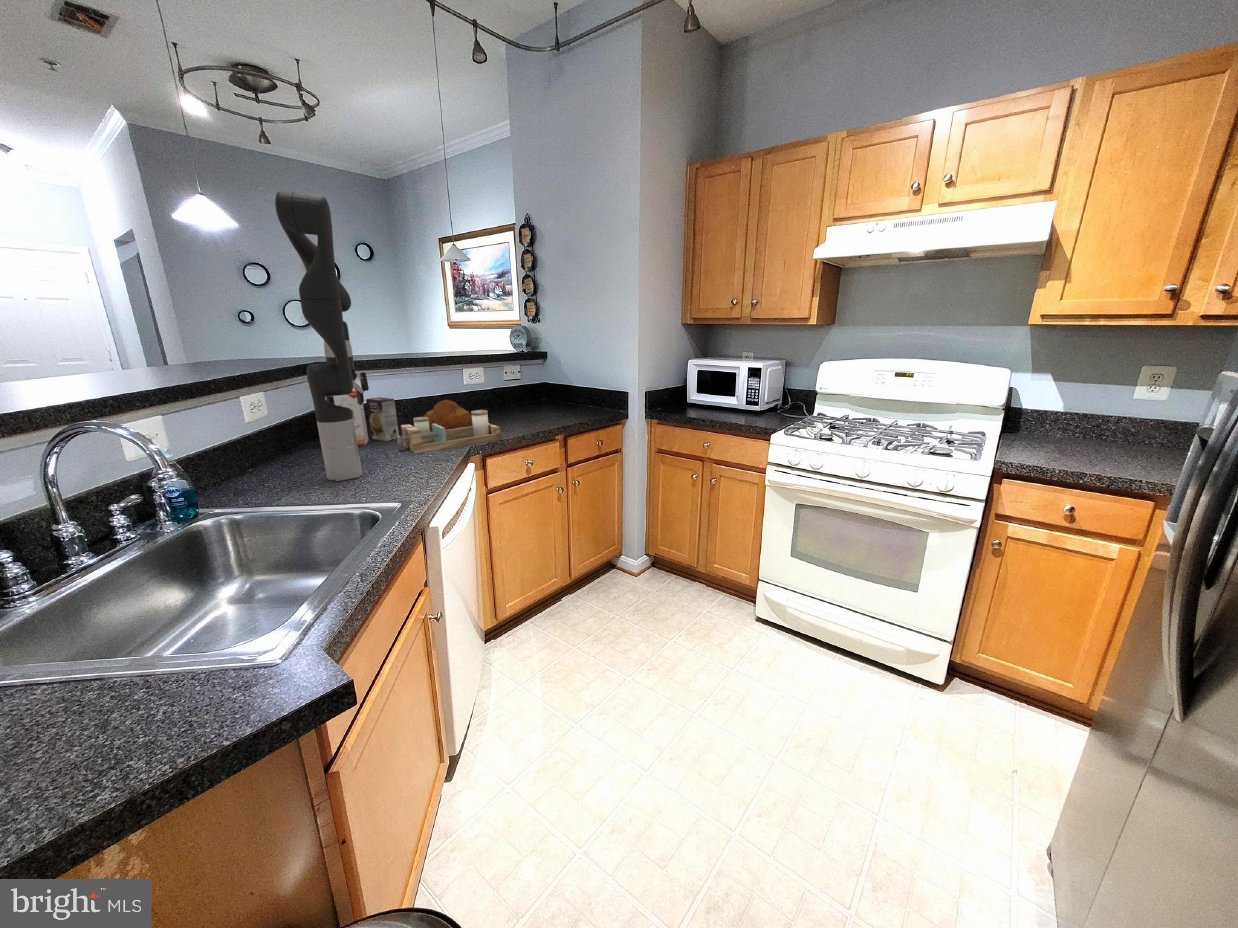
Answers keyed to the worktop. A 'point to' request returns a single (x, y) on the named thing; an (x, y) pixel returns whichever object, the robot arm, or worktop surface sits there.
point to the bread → (449, 416)
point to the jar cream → (480, 422)
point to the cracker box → (354, 415)
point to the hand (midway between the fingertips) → (346, 406)
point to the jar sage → (422, 424)
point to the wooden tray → (416, 441)
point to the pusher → (428, 435)
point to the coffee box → (382, 418)
